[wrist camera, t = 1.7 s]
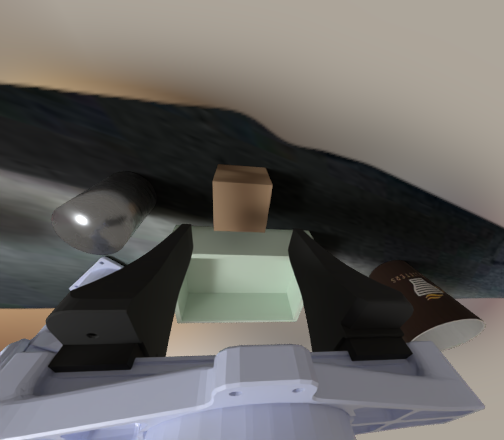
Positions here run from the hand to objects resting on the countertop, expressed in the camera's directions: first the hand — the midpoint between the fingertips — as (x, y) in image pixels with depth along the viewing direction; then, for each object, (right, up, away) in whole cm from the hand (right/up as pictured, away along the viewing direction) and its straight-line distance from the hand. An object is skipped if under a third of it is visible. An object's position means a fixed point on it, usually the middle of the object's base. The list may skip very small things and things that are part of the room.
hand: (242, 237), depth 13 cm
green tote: (-1, -5, +14) cm, 15 cm away
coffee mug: (+22, -7, +17) cm, 29 cm away
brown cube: (-1, +5, +8) cm, 9 cm away
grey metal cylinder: (-12, +4, +7) cm, 15 cm away
